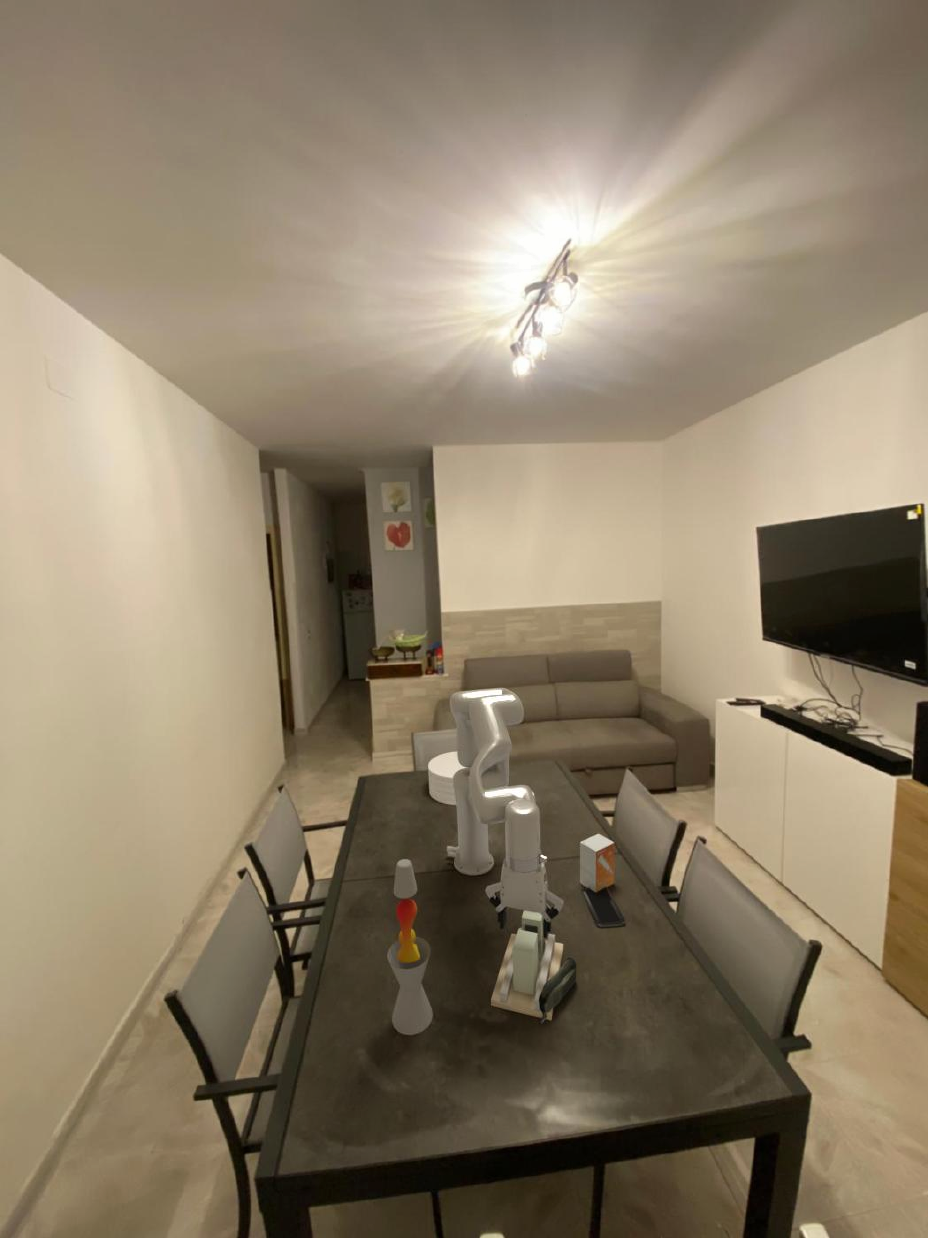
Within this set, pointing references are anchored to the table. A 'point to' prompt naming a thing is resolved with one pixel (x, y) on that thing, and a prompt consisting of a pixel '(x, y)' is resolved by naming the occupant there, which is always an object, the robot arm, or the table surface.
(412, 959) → the lava lamp
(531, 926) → the rail board
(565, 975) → the mobile phone
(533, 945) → the pale green tall block
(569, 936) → the table surface
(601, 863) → the small box
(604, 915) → the phone
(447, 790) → the plate stack
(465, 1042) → the table surface
